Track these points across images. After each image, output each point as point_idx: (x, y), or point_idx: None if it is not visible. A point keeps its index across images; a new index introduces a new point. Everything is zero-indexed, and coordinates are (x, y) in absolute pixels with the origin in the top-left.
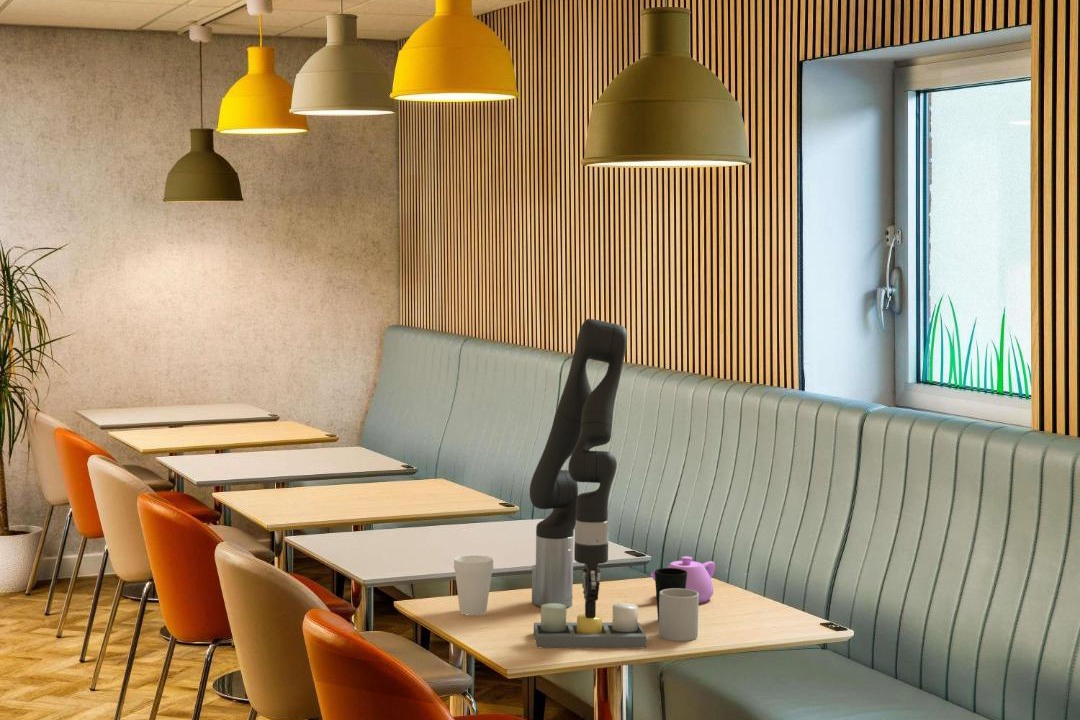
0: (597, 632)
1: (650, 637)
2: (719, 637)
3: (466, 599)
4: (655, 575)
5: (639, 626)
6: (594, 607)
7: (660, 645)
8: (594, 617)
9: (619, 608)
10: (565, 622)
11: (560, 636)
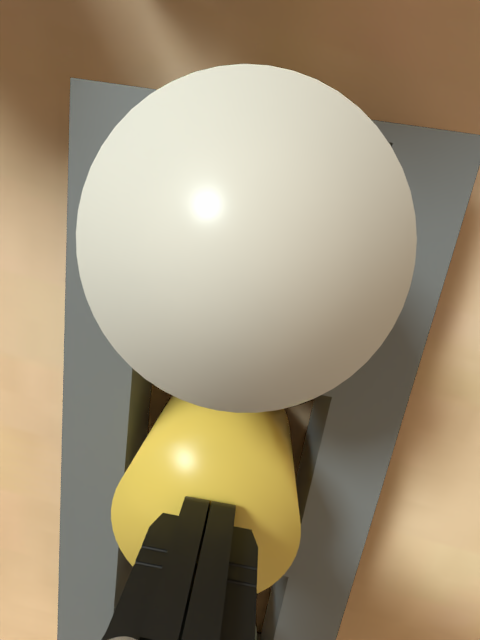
0: (287, 437)
1: (210, 51)
2: None
3: None
4: None
5: None
6: (227, 588)
7: (414, 34)
8: (234, 505)
9: (331, 364)
10: None
11: (336, 633)
